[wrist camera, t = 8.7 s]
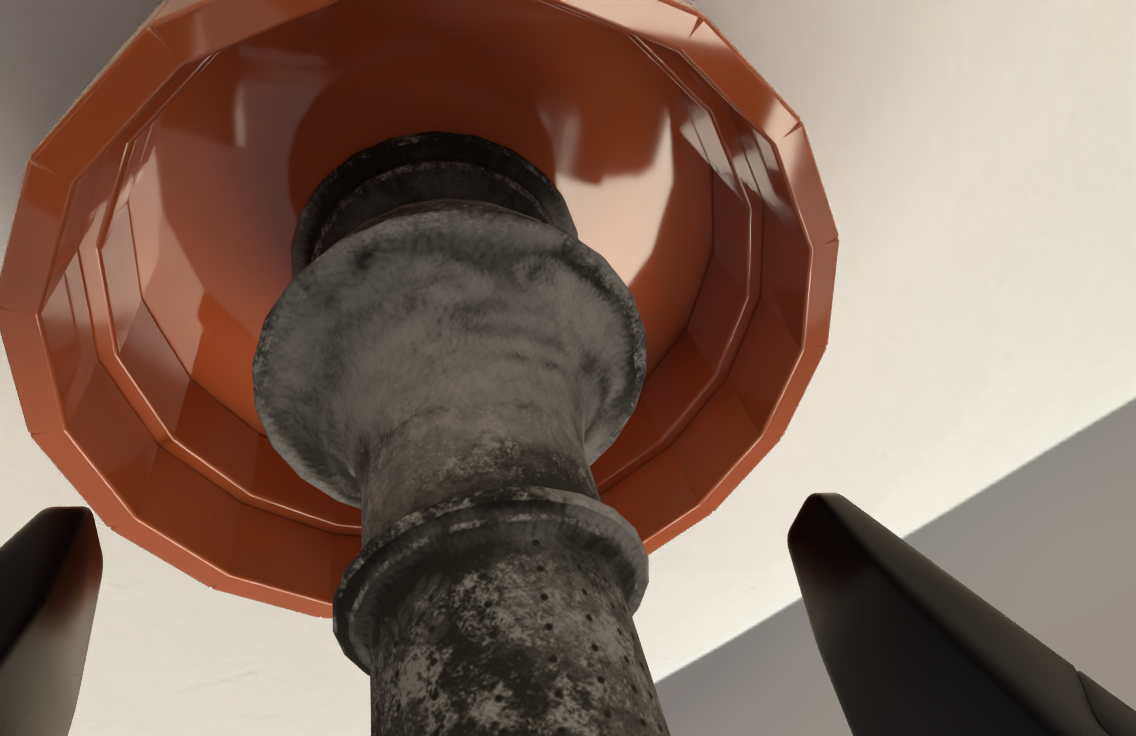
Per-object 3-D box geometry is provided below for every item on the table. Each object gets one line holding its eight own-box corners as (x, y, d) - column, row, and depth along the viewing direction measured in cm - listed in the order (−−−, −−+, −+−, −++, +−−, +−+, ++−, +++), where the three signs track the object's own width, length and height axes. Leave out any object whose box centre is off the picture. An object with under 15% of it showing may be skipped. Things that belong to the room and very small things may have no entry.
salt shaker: (606, 109, 13) (1218, 951, 4) (583, 377, 17) (866, 1140, 7) (240, 117, 12) (-176, 1379, 3) (302, 404, 15) (221, 1354, 6)
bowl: (136, 481, 16) (86, 646, 13) (14, -208, 9) (-151, -194, 6) (647, 476, 20) (700, 605, 17) (835, -29, 13) (983, 35, 10)
